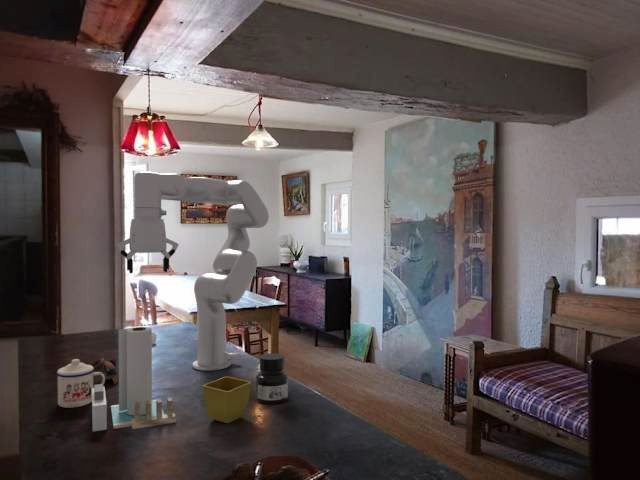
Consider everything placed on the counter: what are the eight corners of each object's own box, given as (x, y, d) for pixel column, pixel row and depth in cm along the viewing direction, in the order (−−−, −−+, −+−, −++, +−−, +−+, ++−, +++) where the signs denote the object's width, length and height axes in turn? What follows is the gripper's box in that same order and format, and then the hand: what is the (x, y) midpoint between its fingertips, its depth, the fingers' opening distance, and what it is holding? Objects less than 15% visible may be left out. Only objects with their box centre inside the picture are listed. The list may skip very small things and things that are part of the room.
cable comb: (174, 418, 125) (174, 397, 125) (175, 422, 123) (175, 400, 123) (131, 425, 121) (131, 402, 120) (132, 429, 118) (132, 406, 118)
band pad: (158, 401, 137) (158, 399, 137) (166, 420, 124) (166, 417, 124) (110, 408, 132) (110, 405, 132) (113, 428, 119) (113, 425, 119)
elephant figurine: (137, 343, 203) (137, 328, 203) (158, 341, 207) (158, 327, 207) (139, 346, 197) (139, 331, 197) (160, 345, 201) (160, 330, 200)
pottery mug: (114, 388, 149) (99, 366, 147) (88, 401, 150) (72, 379, 148) (129, 367, 160) (115, 346, 158) (105, 379, 162) (90, 358, 160)
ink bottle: (256, 406, 134) (256, 361, 134) (252, 395, 143) (252, 353, 142) (292, 403, 137) (292, 359, 136) (285, 392, 145) (285, 351, 145)
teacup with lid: (60, 411, 129) (59, 366, 129) (54, 401, 137) (53, 358, 136) (109, 401, 137) (109, 359, 136) (100, 392, 144) (100, 352, 144)
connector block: (104, 409, 131) (104, 379, 131) (106, 429, 118) (106, 395, 118) (92, 411, 130) (91, 380, 129) (92, 431, 117) (92, 397, 117)
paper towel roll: (156, 410, 129) (156, 327, 128) (136, 418, 123) (136, 332, 123) (139, 405, 133) (138, 324, 132) (118, 412, 127) (118, 328, 127)
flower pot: (228, 428, 119) (228, 391, 119) (201, 421, 124) (201, 384, 124) (251, 417, 127) (252, 381, 126) (225, 410, 131) (226, 375, 131)
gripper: (175, 214, 155) (176, 270, 156) (115, 214, 148) (116, 272, 148) (180, 214, 148) (180, 272, 149) (117, 213, 141) (117, 274, 141)
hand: (148, 272), depth 148 cm, fingers open, 9 cm apart
